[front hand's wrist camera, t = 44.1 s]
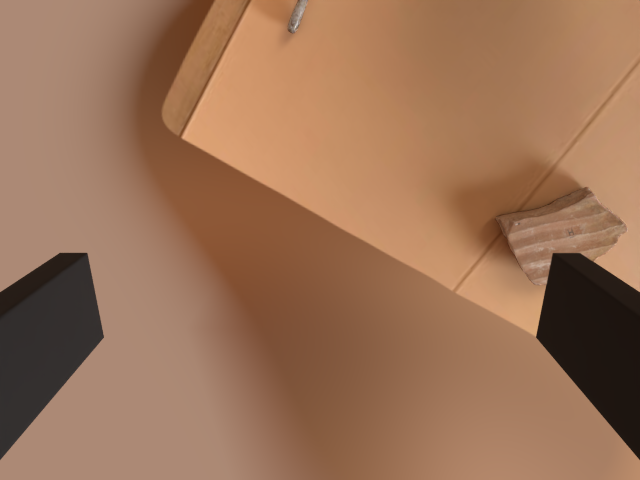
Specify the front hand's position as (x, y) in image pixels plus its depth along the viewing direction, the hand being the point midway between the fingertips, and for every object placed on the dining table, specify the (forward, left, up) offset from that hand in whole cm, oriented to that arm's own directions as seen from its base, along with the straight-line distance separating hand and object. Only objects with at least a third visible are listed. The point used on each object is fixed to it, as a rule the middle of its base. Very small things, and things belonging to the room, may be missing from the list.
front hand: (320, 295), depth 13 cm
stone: (+28, +14, -41) cm, 51 cm away
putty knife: (-12, +9, -41) cm, 43 cm away
